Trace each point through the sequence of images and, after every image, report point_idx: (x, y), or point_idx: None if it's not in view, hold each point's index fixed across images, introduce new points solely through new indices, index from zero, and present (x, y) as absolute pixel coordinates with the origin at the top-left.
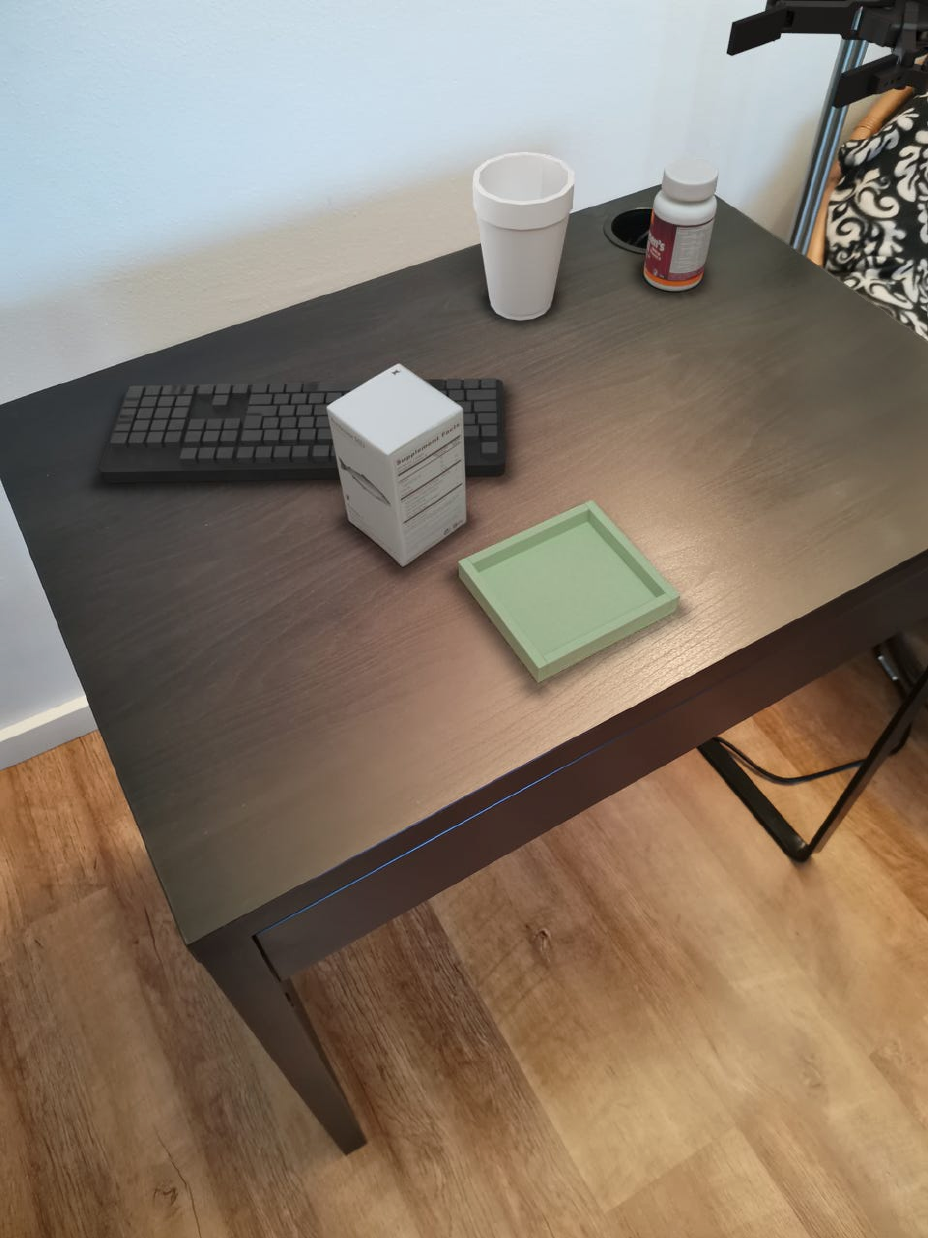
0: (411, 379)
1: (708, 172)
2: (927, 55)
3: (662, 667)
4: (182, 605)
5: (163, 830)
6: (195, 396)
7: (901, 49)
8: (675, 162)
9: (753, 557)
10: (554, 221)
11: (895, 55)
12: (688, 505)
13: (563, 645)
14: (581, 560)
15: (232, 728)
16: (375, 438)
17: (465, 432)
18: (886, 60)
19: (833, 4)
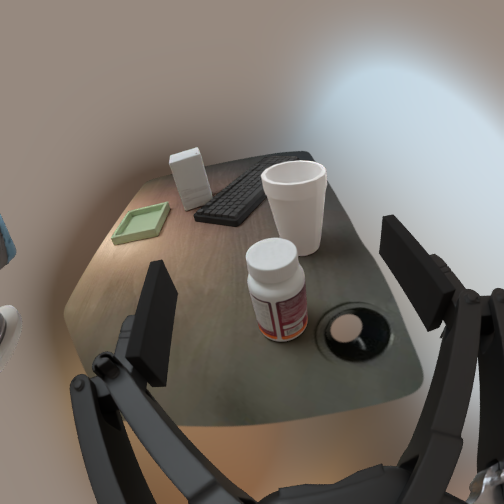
0: (190, 155)
1: (259, 261)
2: (94, 409)
3: (108, 238)
4: (212, 172)
5: (165, 176)
6: None
7: (145, 396)
8: (290, 247)
9: (104, 268)
10: (264, 191)
11: (130, 354)
12: (134, 261)
13: (127, 215)
14: (145, 228)
15: (174, 180)
16: (177, 153)
17: (212, 206)
18: (132, 330)
19: (452, 397)
